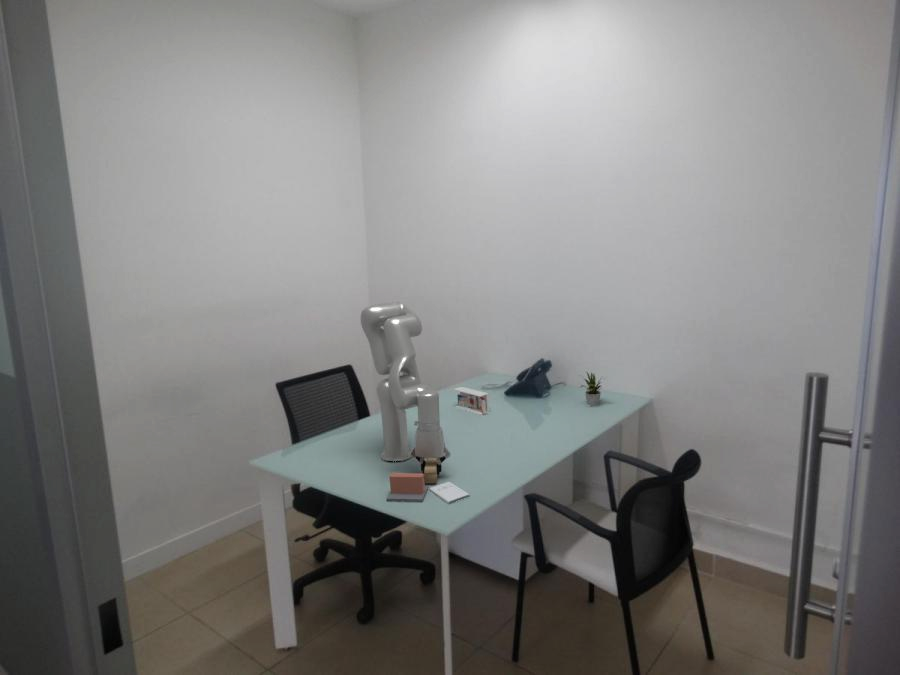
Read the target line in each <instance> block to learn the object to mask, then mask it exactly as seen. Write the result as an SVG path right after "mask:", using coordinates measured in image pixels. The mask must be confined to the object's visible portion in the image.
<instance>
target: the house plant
mask: <svg viewBox="0 0 900 675" xmlns="http://www.w3.org/2000/svg"><path fill="white" fill-rule="evenodd" d="M585 373H586V375H587V378H588V380H587V379H586V378H584V377H583V375H580V374H579V377H581V376H582V377H581V378H582V379H584V381H585V383H586V385H587V386H586V385H585V388H586V391H585V398H586V404H588V405H590V406H589V407H591V406H596V407H598V406H597V405H600V398H601V395H602V394H601V391H600V390H601V389H602V385H600V384H601V381H602V380H601V379H602V378H603V375H602V376H600V379H599V380H598V382H597V384H596V380H597V378H596V375H595V374H596V372H594V373H593V372H592V371H591V372H590V374H589V373H588V372H587V371H585ZM606 378H608V377H604V378H603V380H605V379H606ZM577 384H579V383H577ZM583 387H584V385H583V384H582V383H580V386H579V388H583ZM588 405H587V406H588Z"/></svg>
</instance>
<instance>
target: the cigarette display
mask: <svg viewBox="0 0 900 675" xmlns="http://www.w3.org/2000/svg"><path fill="white" fill-rule="evenodd" d="M453 391H456V392H459V393H458V394H457V405H455V406H456V407H457V406H458V408H459V406H461V407H464V408H465V407H466V408H467V409H468V408H470V410H471V412H470V413H472V412H474V413H473V414H475V413H477V414H476V415H479V414H480V416H482V415H481V414H483V415H486V414H488V413H490V400H489V398H490V397H489V393H488V392H485V391H481V390H477V389H473V388H468V387H464V386H460V387H457V388H456V387H455V388H453ZM461 407H460V408H461ZM458 408H457V409H458ZM464 408H463V409H464ZM466 408H465V409H466ZM465 409H464V410H463V411H465ZM467 409H466V410H467ZM460 410H462V408H461V409H460ZM470 410H469V409H468V410H467V411H466V412H469V411H470ZM487 412H488V413H487Z"/></svg>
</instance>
